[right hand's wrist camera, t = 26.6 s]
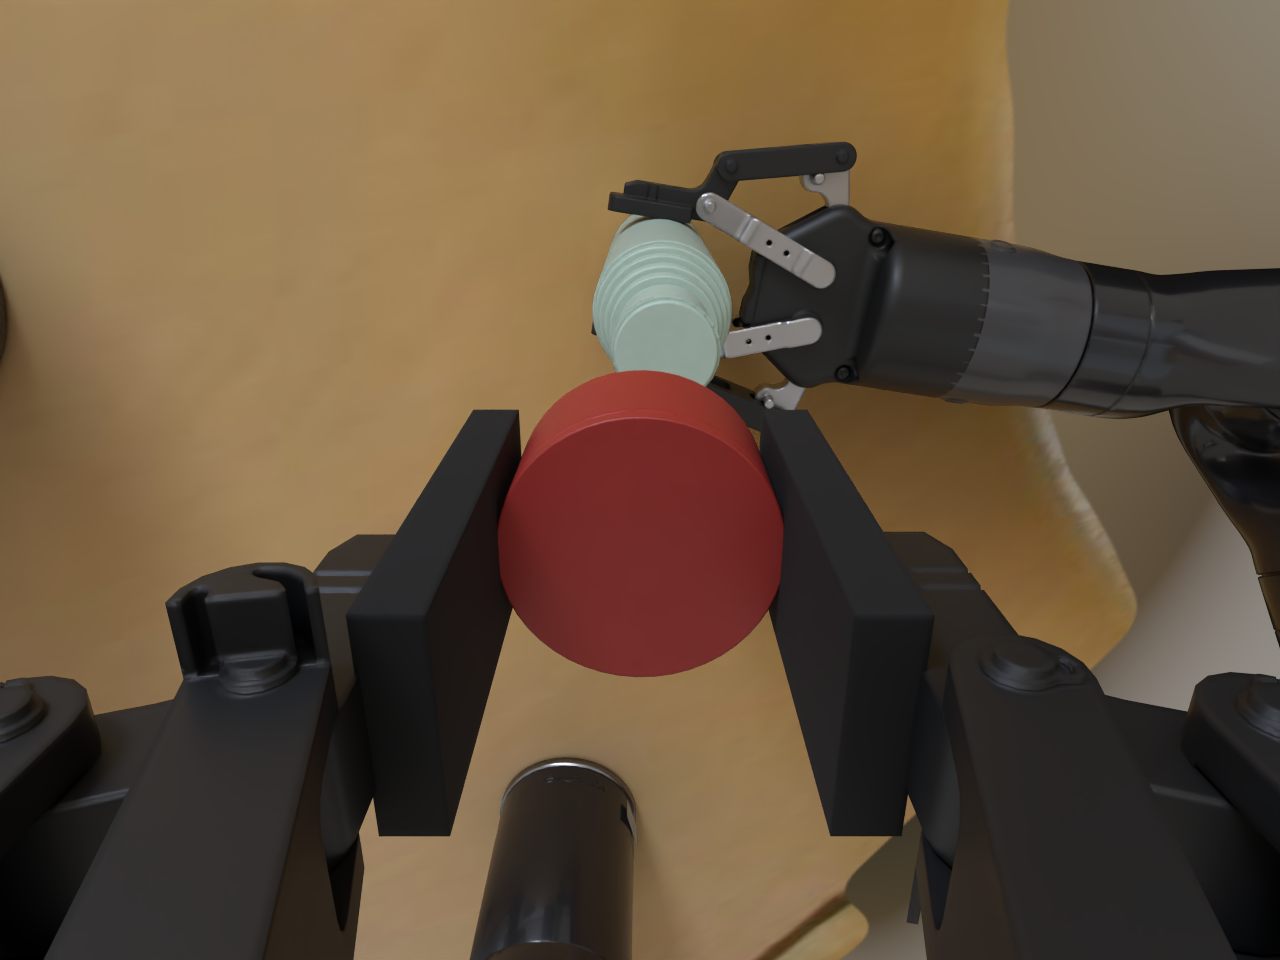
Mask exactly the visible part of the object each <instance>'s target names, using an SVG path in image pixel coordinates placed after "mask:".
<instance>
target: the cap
mask: <svg viewBox="0 0 1280 960" xmlns="http://www.w3.org/2000/svg"><path fill="white" fill-rule="evenodd" d="M783 533H784V521H783V517H782V514H781V510H780V507H779V504H778V501H777V499H776V496H775V493H774V490H773V488H772V485H771V482H770V479H769V477H768V474H767V471H766V469H765V466H764V463H763V460H762V458H761V455H760V452H759V450H758V447H757V445H756V442H755V440H754V438H753V435H752V434H751V432H750V430H749V429H748V427H747V425H746V424H745V422H744V421H743V419H742V418H741V417H740V416H739V415H738V413H737V412H736V411H735V410H734V409H733V408H732V407H731V406H730V405H729V404H728V403H727V402H726V401H725V400H724V399H723V398H721V397H720V396H718V395H717V394H716V393H714V392H713V391H711V390H710V389H708V388H707V387H705V386H703V385H701V384H699V383H697V382H695V381H693V380H690V379H687V378H684V377H682V376H679V375H675V374H670V373H666V372H660V371H650V370H634V371H624V372H618V373H612V374H608V375H605V376H602V377H598V378H595V379H593V380H591V381H589V382H586V383H584V384H582V385H580V386H578V387H577V388H575V389H574V390H572V391H570V392H569V393H567V394H566V395H565V396H563V397H562V398H561V399H560V400H558V401H557V402H556V403H555V404H554V405H553V406H552V407H551V408H550V409H549V410H548V411H547V412H546V413H545V415H544V416H543V417H542V419H541V420H540V421H539V423H538V424H537V426H536V427H535V429H534V431H533V433H532V435H531V437H530V439H529V440H528V443H527V445H526V448H525V450H524V453H523V455H522V458H521V460H520V463H519V465H518V468H517V470H516V473H515V476H514V478H513V481H512V483H511V486H510V488H509V491H508V493H507V496H506V498H505V501H504V504H503V507H502V510H501V513H500V516H499V521H498V526H497V534H498V549H499V563H500V576H501V583H502V586H503V588H504V590H505V593H506V595H507V597H508V600H509V601H510V603H511V605H512V607H513V608H514V610H515V612H516V613H517V615H518V616H519V618H520V619H521V620H522V621H523V623H524V624H525V625H526V626H527V628H528V629H529V630H530V631H531V632H532V633H533V634H534V635H535V636H536V637H537V638H538V639H539V640H540V641H542V642H543V643H544V644H546V645H547V646H548V647H550V648H551V649H552V650H553V651H555V652H557V653H558V654H560V655H562V656H563V657H565V658H567V659H569V660H571V661H573V662H575V663H577V664H580V665H582V666H584V667H587V668H590V669H593V670H597V671H600V672H604V673H609V674H614V675H619V676H630V677H655V676H662V675H670V674H675V673H679V672H683V671H687V670H690V669H693V668H695V667H698V666H701V665H703V664H706V663H708V662H710V661H712V660H714V659H716V658H718V657H720V656H721V655H723V654H724V653H726V652H727V651H729V650H730V649H732V648H733V647H735V646H736V645H737V644H738V643H740V642H741V641H742V640H743V639H744V638H745V637H746V636H748V635H749V634H750V632H751V631H752V630H753V629H754V628H755V627H756V626H757V625H758V623H759V622H760V621H761V620H762V618H763V617H764V615H765V614H766V612H767V611H768V609H769V608H770V606H771V604H772V602H773V600H774V598H775V596H776V594H777V592H778V589H779V586H780V576H781V562H782V548H783Z"/></svg>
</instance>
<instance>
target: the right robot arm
mask: <svg viewBox="0 0 1280 960" xmlns="http://www.w3.org/2000/svg"><path fill="white" fill-rule="evenodd" d="M5 332H6V318H5V307H4V301H3V296H2V292H1V288H0V359H1V355H2V352H3V348H4V342H5ZM760 455H761V458H762V460H763V463H764V466H765V469H766V471H767V474H768V477H769V479H770V482H771V485H772V488H773V490H774V493H775V496H776V499H777V501H778V504H779V507H780V510H781V514H782V517H783V521H784V533H783V548H782V562H781V576H780V586H779V589H778V592H777V594H776V596H775V598H774V600H773V602H772V604H771V606H770V608H769V609H768V610H769V613H770V617H771V621H772V624H773V628H774V631H775V635H776V639H777V642H778V646H779V650H780V653H781V657H782V661H783V664H784V668H785V672H786V675H787V679H788V683H789V686H790V690H791V694H792V697H793V701H794V704H795V708H796V712H797V715H798V719H799V723H800V726H801V730H802V734H803V737H804V741H805V745H806V748H807V752H808V756H809V759H810V763H811V767H812V770H813V774H814V777H815V781H816V785H817V788H818V792H819V796H820V799H821V803H822V807H823V810H824V814H825V818H826V821H827V825H828V829H829V832H830V836H902V829H903V823H904V816H905V810H906V803H907V797H908V795H909V797H910V800H911V802H912V805H913V807H914V809H915V812H916V814H917V817H918V819H919V822H920V824H921V827H922V831H921V837H920V843H919V849H918V855H917V861H916V867H915V873H914V880H913V886H912V892H911V898H910V904H909V911H908V917H907V922H908V923H913V924H918V921H919V916H920V911H921V914H922V923H923V931H924V939H925V948H926V956H927V960H1280V680H1279V679H1276V677H1274V676H1269V675H1263V674H1246V673H1235V672H1228V673H1222V674H1216V675H1210V676H1207V677H1206V678H1204V679H1203V680H1202V681H1201V682H1199V683H1198V684H1197V685H1196V686H1195V689H1194V693H1193V696H1192V699H1191V702H1190V706H1189V709H1188V712H1187V711H1181V710H1176V709H1171V708H1165V707H1160V706H1155V705H1149V704H1144V703H1138V702H1133V701H1128V700H1123V699H1120V698H1115V697H1111V696H1107V695H1105V694H1104V692H1103V691H1102V689H1101V686H1100V684H1099V682H1098V680H1097V679H1096V677H1095V676H1094V675H1093V674H1092V672H1091V671H1090V670H1089V669H1088V668H1087V666H1086V665H1085V664H1084V663H1083V662H1082V661H1080V660H1078V659H1077V658H1075V657H1074V656H1072V655H1071V654H1069V653H1068V652H1066V651H1065V650H1063V649H1061V648H1059V647H1056V646H1053V645H1051V644H1048V643H1046V642H1043V641H1040V640H1038V639H1035V638H1030V637H1025V636H1020V635H1018V634H1017V633H1016V631H1015V630H1014V629H1013V627H1012V626H1011V625H1010V623H1009V622H1008V621H1007V620H1006V618H1005V617H1004V616H1003V614H1002V613H1001V612H1000V610H999V609H998V608H997V607H996V605H995V604H994V603H993V601H992V600H991V599H990V597H989V596H988V595H987V594H986V592H985V591H984V590H981V589H980V584H979V583H978V582H977V580H976V579H975V578H974V577H973V575H972V574H971V573H968V569H967V567H966V566H965V565H964V564H963V562H962V561H961V560H960V558H959V557H958V556H957V554H956V553H955V552H954V551H953V549H951V548H950V547H948V546H946V545H945V544H943V543H942V542H940V541H938V540H937V539H935V538H933V537H932V536H930V535H928V534H927V533H925V532H883V531H882V529H881V527H880V526H879V524H878V523H877V521H876V519H875V518H874V516H873V515H872V513H871V511H870V510H869V508H868V507H867V505H866V503H865V502H864V500H863V499H862V497H861V495H860V494H859V492H858V491H857V489H856V487H855V486H854V484H853V482H852V481H851V479H850V478H849V476H848V474H847V473H846V471H845V470H844V468H843V466H842V465H841V463H840V462H839V460H838V458H837V457H836V455H835V454H834V452H833V450H832V449H831V447H830V446H829V444H828V442H827V441H826V439H825V438H824V436H823V434H822V433H821V431H820V430H819V428H818V426H817V425H816V423H815V422H814V420H813V418H812V417H811V415H810V414H809V412H808V410H762V417H761V434H760ZM520 460H521V442H520V424H519V410H473V411H472V413H471V415H470V416H469V418H468V419H467V421H466V423H465V424H464V426H463V427H462V429H461V431H460V432H459V434H458V435H457V437H456V439H455V440H454V442H453V443H452V445H451V447H450V448H449V450H448V451H447V453H446V455H445V456H444V458H443V459H442V461H441V463H440V464H439V466H438V467H437V469H436V471H435V472H434V474H433V475H432V477H431V479H430V480H429V482H428V483H427V485H426V487H425V488H424V490H423V491H422V493H421V495H420V496H419V498H418V499H417V501H416V503H415V504H414V506H413V507H412V509H411V511H410V512H409V514H408V516H407V517H406V519H405V520H404V522H403V524H402V525H401V527H400V528H399V530H398V532H397V533H396V535H356V536H354V537H352V538H351V539H349V540H347V541H346V542H344V543H342V544H341V545H339V546H338V547H336V548H334V549H333V550H331V551H329V552H328V553H327V555H326V556H325V557H324V559H323V560H322V561H321V563H320V564H319V565H318V567H317V568H316V569H315V571H314V572H313V573H312V572H311V571H309V570H308V569H307V568H305V567H302V566H297V565H293V564H289V563H253V564H247V565H241V566H235V567H230V568H227V569H224V570H220V571H217V572H214V573H211V574H208V575H205V576H202V577H200V578H198V579H197V580H195V581H193V582H191V583H189V584H187V585H186V586H184V587H182V588H180V589H179V590H178V591H177V592H176V593H175V594H174V595H173V596H172V597H171V598H170V599H169V600H168V601H167V602H166V603H165V604H166V608H167V613H168V617H169V621H170V625H171V629H172V633H173V637H174V641H175V645H176V650H177V654H178V658H179V662H180V666H181V670H182V674H183V678H184V680H183V682H182V684H181V686H180V688H179V690H178V692H177V694H176V696H175V698H174V699H172V700H168V701H164V702H160V703H156V704H151V705H146V706H141V707H135V708H130V709H125V710H120V711H114V712H109V713H104V714H98V715H94V713H93V710H92V707H91V703H90V700H89V697H88V693H87V690H86V689H85V688H84V687H83V686H81V685H80V684H79V683H78V682H76V681H75V680H73V679H67V678H61V677H55V676H45V677H33V678H18V679H13V680H8V681H6V683H2V682H0V960H353V958H354V950H355V941H356V933H357V925H358V916H359V908H360V900H361V891H362V883H363V875H364V862H363V855H362V849H361V843H360V837H359V830H360V828H361V825H362V823H363V820H364V818H365V815H366V813H367V810H368V808H369V805H370V803H371V801H372V798H373V799H374V806H375V813H376V819H377V826H378V832H379V836H450V834H451V831H452V827H453V823H454V820H455V816H456V812H457V809H458V805H459V801H460V798H461V794H462V790H463V787H464V783H465V780H466V776H467V772H468V769H469V765H470V761H471V758H472V754H473V750H474V747H475V743H476V739H477V736H478V732H479V728H480V725H481V721H482V717H483V714H484V710H485V707H486V703H487V699H488V696H489V692H490V688H491V685H492V681H493V677H494V674H495V670H496V666H497V663H498V659H499V655H500V652H501V648H502V644H503V641H504V637H505V634H506V630H507V626H508V623H509V619H510V615H511V612H512V608H513V607H512V605H511V603H510V601H509V600H508V597H507V595H506V593H505V590H504V588H503V586H502V583H501V576H500V563H499V549H498V534H497V526H498V521H499V516H500V513H501V510H502V507H503V504H504V501H505V498H506V496H507V493H508V491H509V488H510V486H511V483H512V481H513V478H514V476H515V473H516V470H517V468H518V465H519V463H520Z"/></svg>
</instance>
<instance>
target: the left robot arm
mask: <svg viewBox="0 0 1280 960" xmlns="http://www.w3.org/2000/svg"><path fill="white" fill-rule="evenodd" d="M856 158H857V154H856V150H855V148H854V147H853V146H852V145H851V144H850V143H847V142H827V143H816V144H804V145H793V146H781V147H769V148H758V149H746V150H734V151H724V152H721V153H720V154H718V155H717V157H716V158H715V160H714V164H713V167H712V168H711V170H710V172H709V174H708V176H707V177H706V179H705V181H704V182H703V183H702V184H701V185H700V186H698V187H696V188H683V187H677V186H671V185H665V184H659V183H653V182H647V181H641V180H634V181H630V182H626V183H625V187H624V193H617V192H611V193H610V196H609V203H608V210H611V211H615V212H621V213H627V214H633V215H639V216H645V217H651V218H657V219H666V220H671V221H676V222H682V223H688V224H690V221H691V219H694V220H700V221H706V222H708V223H709V224H711V225H713V226H714V227H716V228H718V229H719V230H721V231H723V232H725V233H726V234H728V235H730V236H731V237H733V238H735V239H736V240H738V241H739V242H741V243H742V244H744V245H746V246H747V247H749V248H751V249H752V252H751V257H750V262H749V281H750V283H749V286H748V288H747V290H746V292H745V294H744V296H743V298H742V302H741V307H740V312H739V315H735V316H732V317H731V324H730V328H729V332H728V336H727V338H726V341H725V343H724V345H723V347H722V349H721V355H720V358H734V357H739V356H744V355H749V354H755V353H760V352H762V353H763V354H764V355H765V357H766V358H767V359H768V360H769V361H770V362H771V363H772V364H773V365H774V366H775V367H776V368H777V369H778V370H779V371H780V372H781V373H782V374H783V375H784V376H785V379H784V380H783V381H782V382H780V383H778V384H768V383H763V384H760V385H758V386H757V387H756V388H755V390H754V391H752V390H749V389H747V388H744V387H742V386H740V385H737V384H735V383H732V382H730V381H727V380H725V379H722V378H720V377H717V376H715V375H714V377H713V379H712V380H711V381H710V382H709V383H708V385H707V386H706V387H707V388H708V389H710V390H711V391H713V392H714V393H716V394H717V395H718V396H720V397H721V398H723V399H724V400H725V401H726V402H727V403H728V404H729V405H730V406H731V407H732V408H733V409H734V410H735V411H736V412H737V413H738V415H739V416H740V417H741V418H742V419H743V421H744V422H745V424H746V425H747V426H748V427H750V428H753V429H755V430H758V431H760V432H761V417H762V410H795V409H796V407H797V405H798V403H799V401H800V399H801V397H802V395H803V393H804V391H805V389H806V388H812V387H815V386H818V385H821V384H824V383H830V382H838V383H845V384H851V385H858V386H864V387H870V388H877V389H883V390H890V391H896V392H903V393H909V394H916V395H922V396H929V397H935V398H940V399H943V400H945V401H947V402H952V403H960V404H963V403H974V404H981V405H991V406H1026V407H1034V408H1041V409H1047V410H1054V411H1061V412H1067V413H1073V414H1080V415H1087V416H1093V417H1100V418H1113V419H1127V418H1137V417H1144V416H1148V415H1152V414H1156V413H1160V412H1164V411H1167V410H1169V413H1170V417H1171V420H1172V424H1173V427H1174V429H1175V432H1176V434H1177V436H1178V438H1179V440H1180V442H1181V444H1182V446H1183V447H1184V449H1185V451H1186V453H1187V454H1188V456H1189V457H1190V459H1191V460H1192V462H1193V464H1194V465H1195V467H1196V468H1197V470H1198V471H1199V473H1200V474H1201V476H1202V477H1203V479H1204V481H1205V482H1206V484H1207V485H1208V487H1209V488H1210V490H1211V491H1212V493H1213V495H1214V496H1215V498H1216V500H1217V501H1218V503H1219V505H1220V506H1221V508H1222V509H1223V511H1224V512H1225V513H1226V515H1227V516H1228V518H1229V519H1230V520H1231V522H1232V523H1233V525H1234V526H1235V527H1236V529H1237V530H1238V531H1239V533H1240V534H1241V536H1242V537H1243V539H1244V540H1245V542H1246V544H1247V545H1248V547H1249V549H1250V552H1251V554H1252V558H1253V562H1254V566H1255V570H1256V574H1258V575H1262V576H1261V577H1258V580H1259V583H1260V587H1261V590H1262V593H1263V596H1264V599H1265V603H1266V606H1267V609H1268V612H1269V615H1270V619H1271V622H1272V625H1273V628H1274V630H1276V631H1275V634H1276V637H1277V641H1278V643H1279V647H1280V268H1273V269H1245V270H1216V271H1203V272H1194V273H1184V274H1171V275H1155V274H1149V273H1145V272H1141V271H1135V270H1129V269H1123V268H1117V267H1111V266H1105V265H1099V264H1093V263H1086V262H1081V261H1074V260H1070V259H1066V258H1062V257H1059V256H1056V255H1052V254H1050V253H1047V252H1044V251H1041V250H1037V249H1034V248H1030V247H1025V246H1020V245H1015V244H1010V243H1007V242H1004V241H1000V240H985V239H979V238H973V237H966V236H961V235H955V234H949V233H943V232H937V231H931V230H925V229H919V228H913V227H907V226H901V225H895V224H889V223H883V222H877V221H872V220H869V219H867V218H865V217H864V216H863V215H861V214H860V213H859V212H858V211H857V210H856V209H854V208H853V207H851V206H849V190H850V169H851V168H852V167H853V165H854V164H855V162H856ZM789 176H799V180H800V184H801V186H802V187H803V188H804V189H805V190H807V191H810V192H815V193H819V194H820V195H821V196H822V197H823V199H824V201H825V206H823V207H821V208H819V209H817V210H815V211H813V212H811V213H809V214H807V215H805V216H804V217H802V218H800V219H798V220H796V221H794V222H792V223H790V224H788V225H786V226H784V227H782V228H780V229H778V230H776V229H774V228H773V227H771V226H769V225H768V224H766V223H764V222H763V221H761V220H759V219H758V218H756V217H754V216H753V215H751V214H749V213H748V212H746V211H744V210H742V209H741V208H739V207H737V206H736V205H734V204H733V203H731V202H729V201H728V199H729V197H730V196H731V194H732V192H733V190H734V188H735V187H736V185H737V183H738V181H742V180H754V179H765V178H777V177H789ZM741 326H742V327H741ZM591 333H592V334H594V335H597V334H596V331H595V327H594V322H593V325H592V332H591ZM746 340H750V341H749V342H746ZM635 817H636V809H635V803H634V799H633V796H632V794H631V792H630V790H629V788H628V787H627V785H626V784H625V783H624V782H623V780H622V779H621V778H620V777H619V776H617V775H616V774H615V773H614V772H612V771H611V770H609V769H607V768H606V767H604V766H602V765H599V764H597V763H594V762H591V761H588V760H584V759H578V758H555V759H549V760H545V761H541V762H538V763H536V764H534V765H531V766H530V767H528V768H526V769H525V770H523V771H522V772H520V773H519V774H518V775H517V776H516V777H515V778H514V779H513V780H512V781H511V782H510V784H509V785H508V787H507V789H506V791H505V793H504V796H503V800H502V805H501V810H500V821H499V826H498V830H497V835H496V839H495V843H494V848H493V853H492V857H491V862H490V867H489V871H488V876H487V881H486V885H485V890H484V895H483V899H482V904H481V909H480V914H479V918H478V923H477V928H476V932H475V937H474V942H473V946H472V951H471V956H470V960H632V904H633V854H634V838H635V841H636V844H637V826H636V823H635Z"/></svg>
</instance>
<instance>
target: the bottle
mask: <svg viewBox="0 0 1280 960" xmlns="http://www.w3.org/2000/svg"><path fill="white" fill-rule="evenodd" d="M592 313H593V322H594V327H595V331H596V334H597V337H598V339H599V342H600V344H601V346H602V348H603V350H604V351H605V353H606V354H607V355H608V357H609V358H610V359H611V360H612V361H613V365H614V368H615V370H616V372H617V373H618V372H624V371H634V370H650V371H660V372H666V373H670V374H675V375H679V376H682V377H684V378H687V379H690V380H693V381H695V382H697V383H699V384H701V385H703V386H705V387H706V386H707V385H708V383H709V382H710V381H711V380H712V379H713V377H714V375H715V372H716V370H717V368H718V366H719V361H720V355H721V349H722V347H723V345H724V343H725V341H726V338H727V336H728V332H729V328H730V324H731V317H732V302H731V295H730V291H729V288H728V285H727V283H726V280H725V278H724V276H723V275H722V273H721V271H720V269H719V268H718V266H717V264H716V263H715V261H714V259H713V258H712V256H711V254H710V252H709V251H708V249H707V247H706V246H705V244H704V242H703V240H702V239H701V237H700V235H699V234H698V232H697V230H696V229H695V227H694V226H693V225H692V223H691V222H690V224H688V223H682V222H676V221H671V220H666V219H657V218H651V217H645V216H639V215H631V216H630V217H629V218H627V219H626V220H625V221H624V222H623V223H622V225H621V226H620V227H619V229H618V230H617V232H616V234H615V236H614V239H613V242H612V244H611V247H610V250H609V253H608V256H607V259H606V262H605V264H604V267H603V270H602V273H601V276H600V279H599V282H598V285H597V288H596V291H595V294H594V299H593V310H592Z"/></svg>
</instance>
